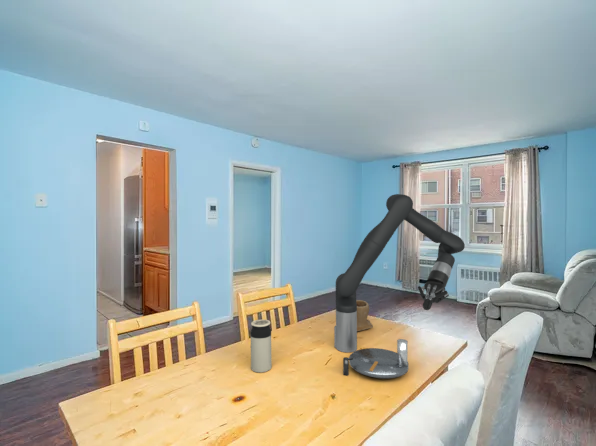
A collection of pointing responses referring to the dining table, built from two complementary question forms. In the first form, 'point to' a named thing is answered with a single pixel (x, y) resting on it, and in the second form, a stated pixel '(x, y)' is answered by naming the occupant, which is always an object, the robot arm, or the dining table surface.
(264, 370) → the travel mug
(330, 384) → the dining table surface
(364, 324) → the stone cup
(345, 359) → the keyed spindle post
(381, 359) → the turntable
